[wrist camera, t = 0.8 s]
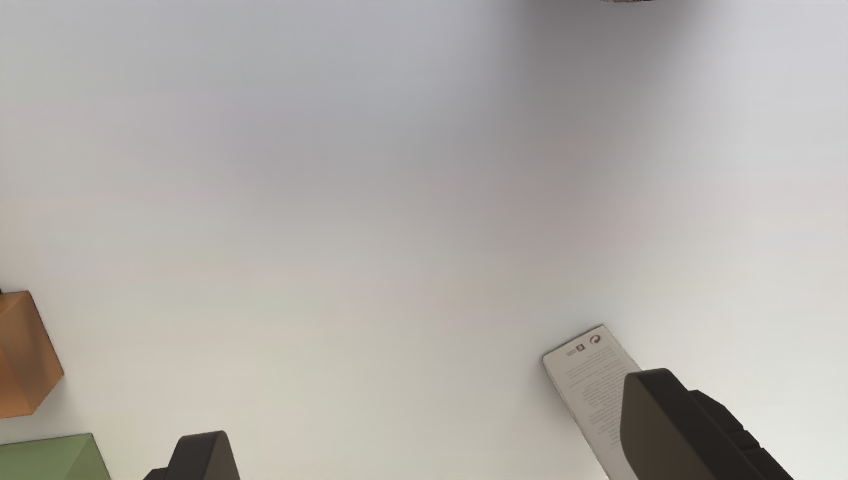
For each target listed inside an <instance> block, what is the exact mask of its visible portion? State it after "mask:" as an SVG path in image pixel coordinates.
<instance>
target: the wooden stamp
mask: <svg viewBox="0 0 848 480" xmlns="http://www.w3.org/2000/svg"><path fill="white" fill-rule="evenodd" d="M62 376H63V371H62V369H61V367H60V364H59V362H58V360H57V357H56V355H55V352H54V350H53V348H52V345H51V343H50V341H49V338H48V336H47V334H46V331H45V329H44V327H43V324H42V322H41V319H40V317H39V315H38V312H37V310H36V308H35V305H34V303H33V301H32V298H31V296H30V294H29V292H28V291H24V292H15V293H6V294H1V290H0V419H1V418H8V417H16V416H24V415H31V414H33V413H34V412H35V411H36V409H37V408H38V407H39V406H40V404H41V403H42V402H43V400H44V399H45V398H46V397H47V395H48V394H49V393H50V391H51V390H52V389H53V388H54V386H55V385H56V384H57V382H58V381H59V380H60V379H61V377H62Z"/></svg>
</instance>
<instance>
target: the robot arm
mask: <svg viewBox="0 0 848 480" xmlns="http://www.w3.org/2000/svg"><path fill="white" fill-rule="evenodd" d="M602 1H607V2H640V1H651V0H602ZM620 440H621V445H622V449H623V452H624V455H625V457H626V459H627V462H628V463H629V465H630V467H631V468H632V470H633V472H634V473H635V475H636V477H637V478H638V480H794V479H793V478H792V477H791V476H790V475H789V474H788V473H787V472H786V471H785V470H784V469H783V468H782V467H781V466H780V465H779V463H778V462H777V461H776V460H775V459H774V458H773V457H772V456H771V455H770V454H769V453H768V452H767V451H766V450H765V449H764V448H761V447H760V445H759V442H758V441H757V440H756V439H755V438H754V437H753V436H752V435H751V434H750V433H749V432H748V431H747V430H744V429H743V425H742V424H741V423H740V422H739V421H738V420H737V419H736V418H735V417H734V416H733V415H732V414H731V413H730V412H729V411H728V410H727V408H726V407H725V406H724V405H722V404H720V403H719V402H717V401H715V400H714V399H712V398H710V397H709V396H707V395H705V394H704V393H702V392H701V391H699V390H692V391H688V390H687V389H686V388H685V387H684V386H683V385H682V384H681V382H680V381H679V380H678V379H677V378H676V377H675V376H674V375H673V373H672V372H671V371H669V370H668V369H666V368H659V369H652V370H645V371H638V372H631V373H628V374H627V375H626V376H625V379H624V388H623V399H622V410H621V420H620ZM143 480H240V477H239V474H238V470H237V467H236V463H235V460H234V457H233V453H232V450H231V446H230V443H229V440H228V437H227V434H226V433H225V432H224V431H222V430H221V431H214V432H208V433H201V434H194V435H187V436H182V437H181V438H180V439H179V441H178V443H177V445H176V447H175V450H174V452H173V455H172V457H171V460H170V462H169V465H168V467H166V468H159V469H152V470H151V471H150V473H149V474H148V475H147V476H146V477H145V478H144V479H143Z"/></svg>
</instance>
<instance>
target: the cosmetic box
mask: <svg viewBox="0 0 848 480" xmlns="http://www.w3.org/2000/svg"><path fill="white" fill-rule="evenodd" d="M543 364H544V366H545V368H546V370H547V372H548V374H549V376H550V378H551V380H552V382H553V383H554V385H555V387H556V389H557V391H558V392H559V394H560V396H561V398H562V399H563V401H564V403H565V405H566V406H567V408H568V410H569V412H570V413H571V415H572V417H573V418H574V420H575V422H576V424H577V425H578V427H579V429H580V430H581V432H582V434H583V436H584V437H585V439H586V441H587V443H588V444H589V446H590V448H591V449H592V451H593V453H594V455H595V456H596V458H597V460H598V461H599V463H600V465H601V466H602V468H603V470H604V471H605V473H606V475H607V476H608V478H609V480H638V478H637V477H636V475H635V473H634V472H633V470H632V468H631V467H630V465H629V463H628V462H627V459H626V457H625V455H624V452H623V449H622V445H621V440H620V420H621V410H622V399H623V388H624V379H625V376H626V375H627V374H628V373H631V372H638V371H642V370H641V369H640V368H639V367H638V365H637V364H636V363H635V362H634V361H633V359H632V358H631V357H630V356H629V354H628V353H627V352H626V351H625V350H624V348H623V347H622V346H621V345H620V344H619V342H618V341H617V340H616V339H615V338H614V336H613V335H612V334H611V333H610V332H609V330H608V329H607V328H606V327H604V326H601V327H598V328H596V329H594V330H592V331H590V332H588V333H586V334H584V335H581V336H580V337H578V338H576V339H574V340H572V341H570V342H569V343H567V344H565V345H563V346H561V347H559V348H557V349H555V350H554V351H552V352H550V353H549V354H547V355H545V356H544V357H543Z"/></svg>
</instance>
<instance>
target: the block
mask: <svg viewBox="0 0 848 480" xmlns="http://www.w3.org/2000/svg"><path fill="white" fill-rule="evenodd" d="M0 480H111V479H110V477H109V475H108V472H107V470H106V467H105V465H104V463H103V460H102V458H101V456H100V453H99V451H98V448H97V446H96V444H95V441H94V439H93V437H92V434H84V435H76V436H68V437H61V438H53V439H46V440H38V441H31V442H23V443H15V444H8V445H0Z"/></svg>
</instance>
